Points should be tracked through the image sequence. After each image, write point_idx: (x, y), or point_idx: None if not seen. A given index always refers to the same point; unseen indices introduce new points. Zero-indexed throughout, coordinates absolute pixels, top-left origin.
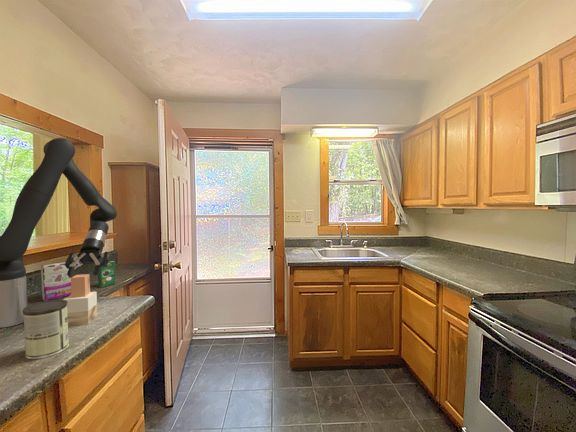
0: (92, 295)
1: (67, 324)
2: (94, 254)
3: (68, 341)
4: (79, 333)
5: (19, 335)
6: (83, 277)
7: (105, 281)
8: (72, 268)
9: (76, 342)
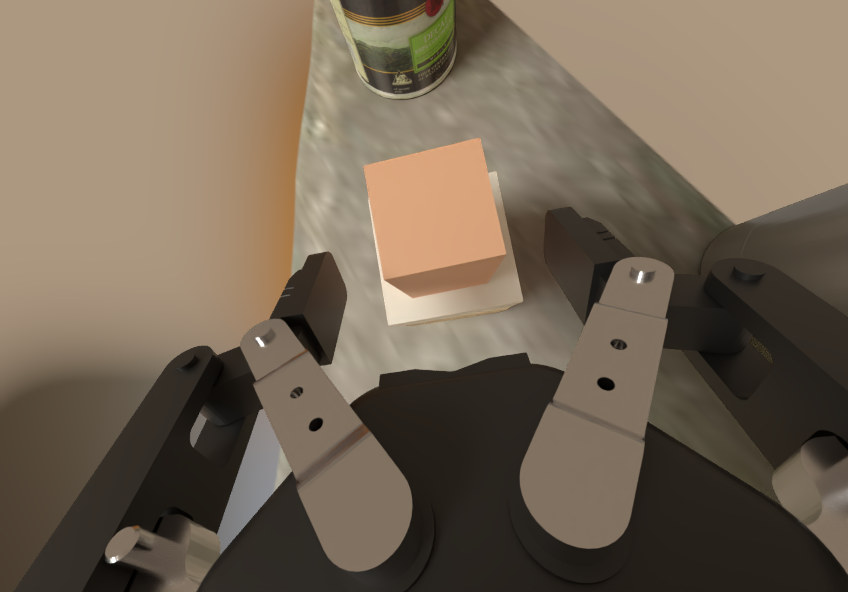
0: (379, 263)
1: (332, 5)
2: (319, 562)
3: (357, 68)
4: (381, 160)
5: (597, 153)
6: (374, 166)
7: None
8: (583, 255)
9: (350, 98)
